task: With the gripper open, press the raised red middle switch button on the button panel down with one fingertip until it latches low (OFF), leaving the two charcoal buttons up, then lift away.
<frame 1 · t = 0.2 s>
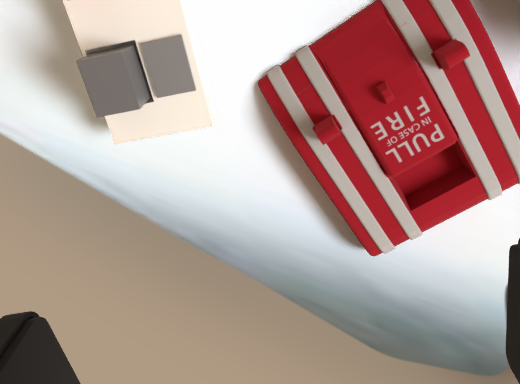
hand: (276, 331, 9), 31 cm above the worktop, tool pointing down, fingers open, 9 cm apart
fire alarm: (398, 122, 40), on the worktop
button 3: (115, 80, 33), point 5 cm above the worktop, slide at 0.0 cm
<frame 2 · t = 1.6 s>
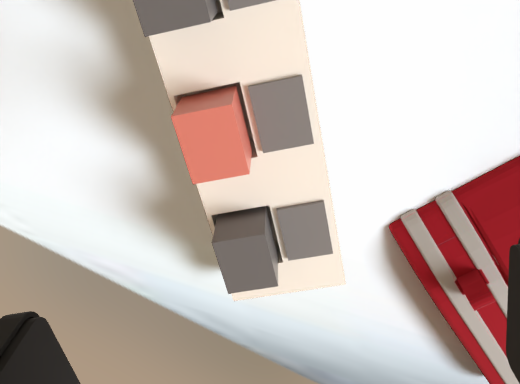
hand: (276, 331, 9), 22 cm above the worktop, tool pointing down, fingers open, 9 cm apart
button 2: (214, 134, 26), point 5 cm above the worktop, slide at 0.0 cm
button 3: (247, 249, 30), point 5 cm above the worktop, slide at 0.0 cm
button panel: (250, 101, 30), on the worktop
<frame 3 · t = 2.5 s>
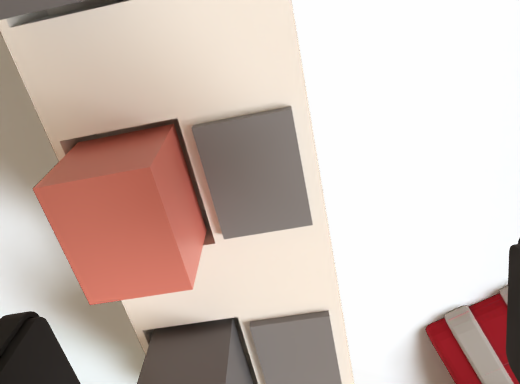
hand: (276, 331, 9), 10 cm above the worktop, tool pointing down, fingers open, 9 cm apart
button 2: (132, 212, 14), point 5 cm above the worktop, slide at 0.0 cm
button panel: (208, 144, 18), on the worktop
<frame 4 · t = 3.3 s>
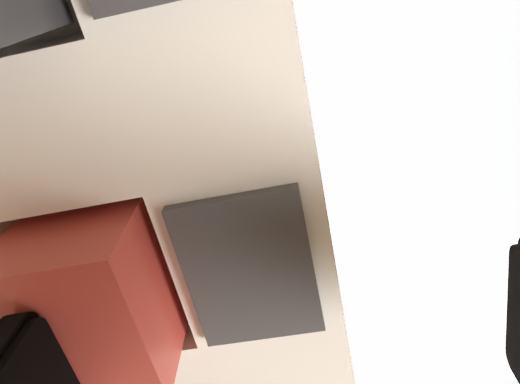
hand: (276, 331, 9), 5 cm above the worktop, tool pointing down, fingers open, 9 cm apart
button 2: (95, 298, 11), point 4 cm above the worktop, slide at 0.8 cm, touching gripper
button panel: (191, 209, 14), on the worktop
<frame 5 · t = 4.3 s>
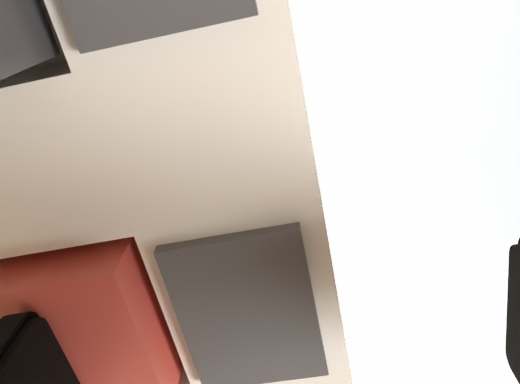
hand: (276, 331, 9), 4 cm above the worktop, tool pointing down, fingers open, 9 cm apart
button 2: (99, 309, 11), point 3 cm above the worktop, slide at 1.9 cm
button panel: (187, 239, 14), on the worktop
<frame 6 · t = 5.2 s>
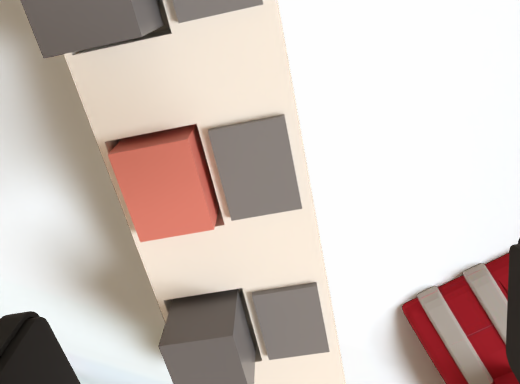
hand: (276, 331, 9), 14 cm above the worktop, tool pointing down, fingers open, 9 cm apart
button 2: (170, 177, 20), point 3 cm above the worktop, slide at 1.9 cm
button 3: (211, 348, 22), point 5 cm above the worktop, slide at 0.0 cm
button panel: (218, 147, 22), on the worktop
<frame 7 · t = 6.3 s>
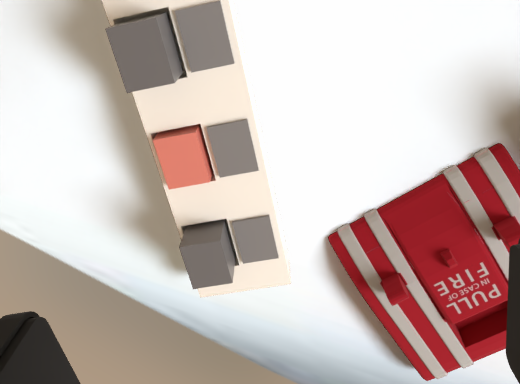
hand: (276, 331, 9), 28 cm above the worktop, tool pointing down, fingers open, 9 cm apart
button 2: (185, 153, 35), point 3 cm above the worktop, slide at 1.9 cm
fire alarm: (454, 266, 44), on the worktop
button 1: (147, 51, 30), point 5 cm above the worktop, slide at 0.0 cm
button 3: (208, 253, 37), point 5 cm above the worktop, slide at 0.0 cm
button panel: (212, 137, 38), on the worktop
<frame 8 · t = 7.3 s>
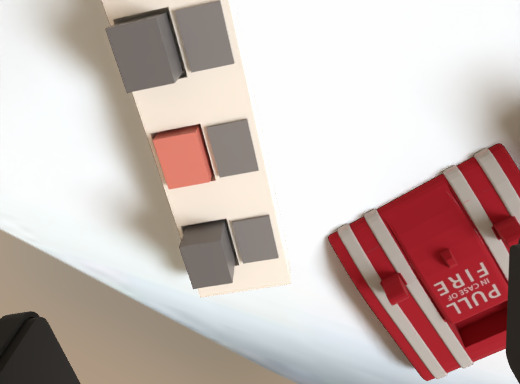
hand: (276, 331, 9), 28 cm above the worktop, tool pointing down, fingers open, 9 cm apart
button 2: (185, 153, 35), point 3 cm above the worktop, slide at 1.9 cm
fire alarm: (454, 266, 44), on the worktop
button 1: (147, 51, 30), point 5 cm above the worktop, slide at 0.0 cm
button 3: (208, 253, 37), point 5 cm above the worktop, slide at 0.0 cm
button panel: (212, 136, 38), on the worktop
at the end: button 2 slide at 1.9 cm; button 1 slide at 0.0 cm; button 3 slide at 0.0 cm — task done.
